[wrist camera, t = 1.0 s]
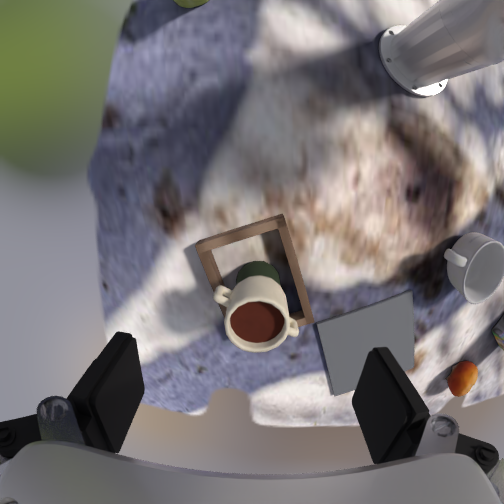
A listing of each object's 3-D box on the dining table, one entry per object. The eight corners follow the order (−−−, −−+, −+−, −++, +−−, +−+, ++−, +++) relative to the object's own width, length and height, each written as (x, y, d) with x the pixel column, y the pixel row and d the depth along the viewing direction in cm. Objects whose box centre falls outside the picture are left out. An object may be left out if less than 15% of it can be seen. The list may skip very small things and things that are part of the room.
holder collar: (282, 213, 39) (284, 216, 37) (311, 313, 43) (314, 322, 41) (198, 240, 40) (194, 245, 38) (237, 334, 45) (235, 343, 43)
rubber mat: (410, 289, 42) (412, 291, 41) (412, 365, 47) (413, 367, 46) (316, 322, 44) (316, 324, 43) (333, 394, 49) (334, 396, 48)
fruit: (448, 363, 45) (476, 379, 39) (460, 349, 49) (485, 363, 43) (434, 391, 48) (459, 407, 41) (447, 376, 52) (471, 390, 45)
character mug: (214, 282, 42) (197, 330, 30) (235, 241, 40) (224, 277, 28) (278, 313, 44) (284, 367, 31) (302, 275, 42) (318, 321, 29)
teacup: (488, 245, 39) (514, 259, 32) (461, 294, 42) (484, 314, 35) (447, 207, 38) (477, 216, 30) (417, 264, 41) (442, 283, 33)
